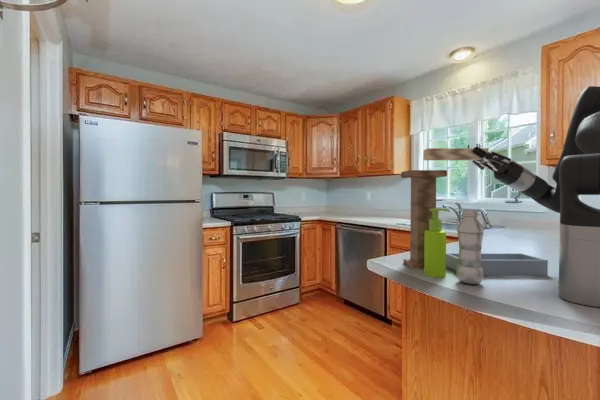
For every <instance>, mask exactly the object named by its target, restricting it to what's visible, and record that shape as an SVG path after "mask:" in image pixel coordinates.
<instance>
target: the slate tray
mask: <svg viewBox="0 0 600 400" xmlns="http://www.w3.org/2000/svg"><path fill="white" fill-rule="evenodd" d="M458 259H459V252H458V253H455V252H453V253H452V252H451V253H450V252H449V253H448V252H446V268H447V267H448V268H447V269H449V270H451V269H452V270H451V271H453V272H455V273H456V271H457V265H458ZM481 261H482V268H483V275H484V276H548V275H549V274H548V271H549V270H548V267H549V263H548V261H549V260H548V259H543V258H540V257H537V256H532V255H530V254H529V255H528V254H525V253H520V252H518V253H516V252H515V253H513V252H512V253H511V252H510V253H508V252H506V253H505V252H503V253H501V252H498V253H497V252H495V253H494V252H491V253H487V252H486V253H484V252H483V253H482V252H481Z"/></svg>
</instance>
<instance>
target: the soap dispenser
mask: <svg viewBox="0 0 600 400" xmlns="http://www.w3.org/2000/svg"><path fill="white" fill-rule="evenodd" d="M430 211H432V218H431V219H430V220H429V230H426V231H425V245H424V269H423V270H424V271H423V273H424V275H425V276H427V277H431V278H445V277H446V276H447V274H446V273H447V271H446V269H447V267H446V253H447V232H446V231H444V230H442V225H443V224H442V222H443V221H442V219H440V218H439V214H440V213H439V212H440V211H441V212H442V211H444V212H450V211H451V210H450V209H447V208H440V207H436V208H434V209H430Z"/></svg>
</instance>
